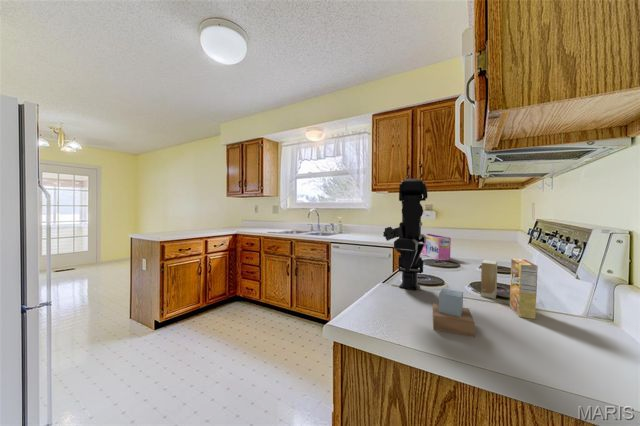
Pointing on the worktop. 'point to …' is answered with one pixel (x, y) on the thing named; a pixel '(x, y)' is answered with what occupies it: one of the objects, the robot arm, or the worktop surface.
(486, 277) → the skincare box
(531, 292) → the candy box
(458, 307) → the slate cube
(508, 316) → the worktop surface
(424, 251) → the gum box
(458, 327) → the walnut block
